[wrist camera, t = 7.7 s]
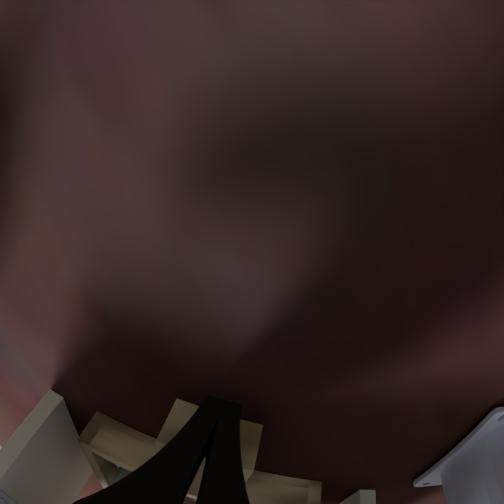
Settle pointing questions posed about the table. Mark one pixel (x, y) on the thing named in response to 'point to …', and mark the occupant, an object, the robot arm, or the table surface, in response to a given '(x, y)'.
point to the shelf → (60, 459)
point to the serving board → (145, 447)
